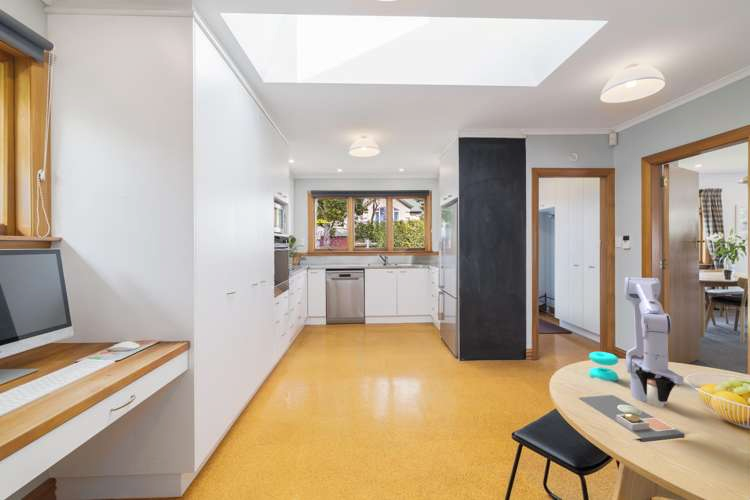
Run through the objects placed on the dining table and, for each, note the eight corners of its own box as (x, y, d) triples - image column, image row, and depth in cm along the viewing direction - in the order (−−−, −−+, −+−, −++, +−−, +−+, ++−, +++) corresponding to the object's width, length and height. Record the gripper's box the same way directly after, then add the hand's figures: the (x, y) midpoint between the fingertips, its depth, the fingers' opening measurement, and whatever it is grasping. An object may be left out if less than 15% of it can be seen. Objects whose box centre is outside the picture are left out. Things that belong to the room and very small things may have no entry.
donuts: (611, 360, 132) (584, 353, 141) (611, 385, 132) (584, 376, 141) (622, 355, 137) (596, 349, 146) (622, 379, 138) (596, 371, 146)
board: (612, 398, 122) (612, 390, 121) (684, 437, 97) (684, 427, 97) (577, 401, 120) (577, 392, 120) (641, 442, 95) (641, 431, 95)
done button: (632, 417, 104) (632, 411, 104) (642, 424, 100) (642, 417, 100) (621, 418, 103) (621, 412, 103) (632, 425, 100) (632, 418, 100)
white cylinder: (655, 399, 104) (655, 377, 104) (667, 406, 100) (667, 383, 100) (643, 400, 103) (643, 378, 103) (655, 407, 99) (655, 383, 99)
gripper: (623, 346, 108) (623, 388, 108) (667, 362, 94) (667, 410, 94) (642, 345, 109) (642, 386, 109) (689, 361, 94) (689, 408, 95)
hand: (655, 397), depth 102 cm, fingers closed on white cylinder, 4 cm apart
